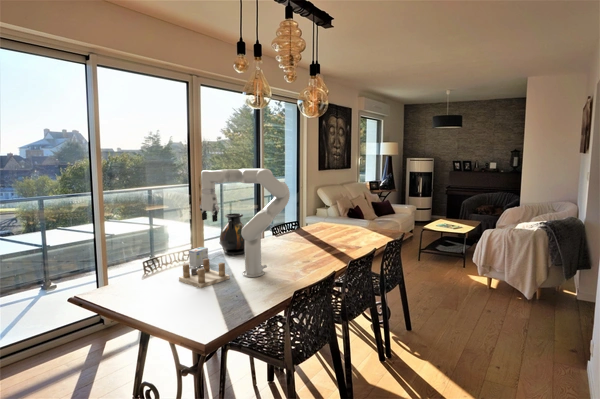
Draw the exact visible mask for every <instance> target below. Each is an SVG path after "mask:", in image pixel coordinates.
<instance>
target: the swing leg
mask: <svg viewBox="0 0 600 399" xmlns="http://www.w3.org/2000/svg"><path fill="white" fill-rule="evenodd" d="M190 268H191V269H190V274H191V275H197V274H198V267H197V268H196V267H190ZM202 268H203V269H205V272H207V271H210V270H211V269H210V268H211V267H210V259H209V258H208V259H203V266H202Z"/></svg>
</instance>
